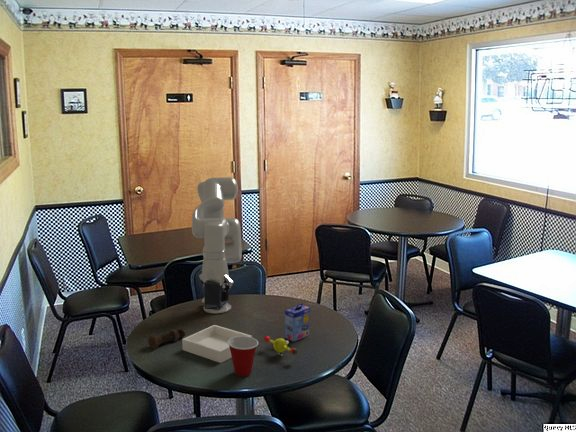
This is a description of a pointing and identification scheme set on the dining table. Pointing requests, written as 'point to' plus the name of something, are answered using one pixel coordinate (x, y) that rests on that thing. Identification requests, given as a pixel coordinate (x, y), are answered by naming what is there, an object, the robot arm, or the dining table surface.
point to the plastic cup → (242, 354)
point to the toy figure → (280, 345)
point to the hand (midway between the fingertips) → (216, 298)
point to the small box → (213, 295)
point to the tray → (211, 343)
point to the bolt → (165, 338)
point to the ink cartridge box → (297, 322)
